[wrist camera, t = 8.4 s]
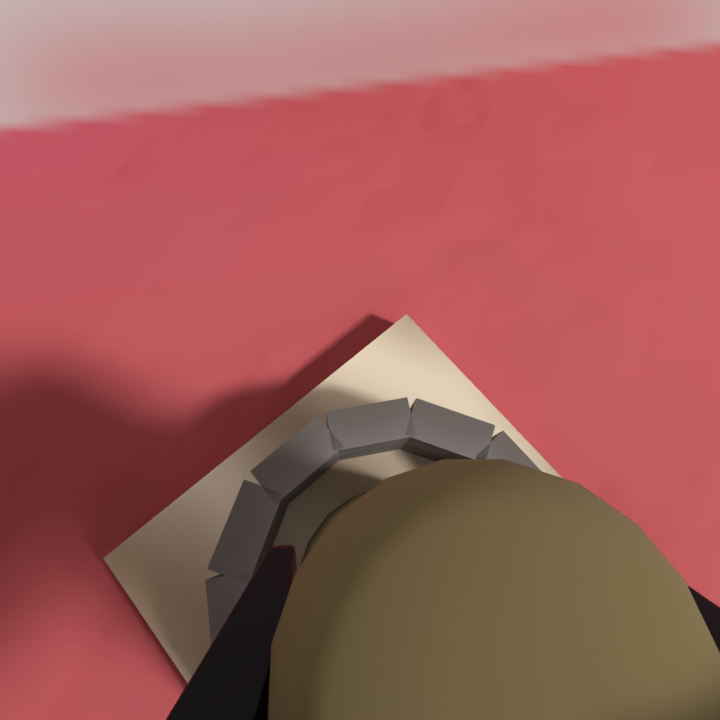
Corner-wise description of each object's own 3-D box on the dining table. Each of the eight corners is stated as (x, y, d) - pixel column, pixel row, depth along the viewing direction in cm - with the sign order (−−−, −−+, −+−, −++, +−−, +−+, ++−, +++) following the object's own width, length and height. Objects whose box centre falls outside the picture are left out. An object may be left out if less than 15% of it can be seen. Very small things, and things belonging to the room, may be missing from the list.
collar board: (373, 926, 14) (384, 1057, 11) (118, 555, 17) (61, 563, 14) (656, 595, 17) (737, 613, 14) (402, 326, 20) (416, 283, 17)
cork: (262, 543, 15) (96, 570, 5) (436, 452, 16) (611, 312, 6) (353, 757, 14) (404, 1499, 3) (539, 640, 15) (1033, 904, 4)
